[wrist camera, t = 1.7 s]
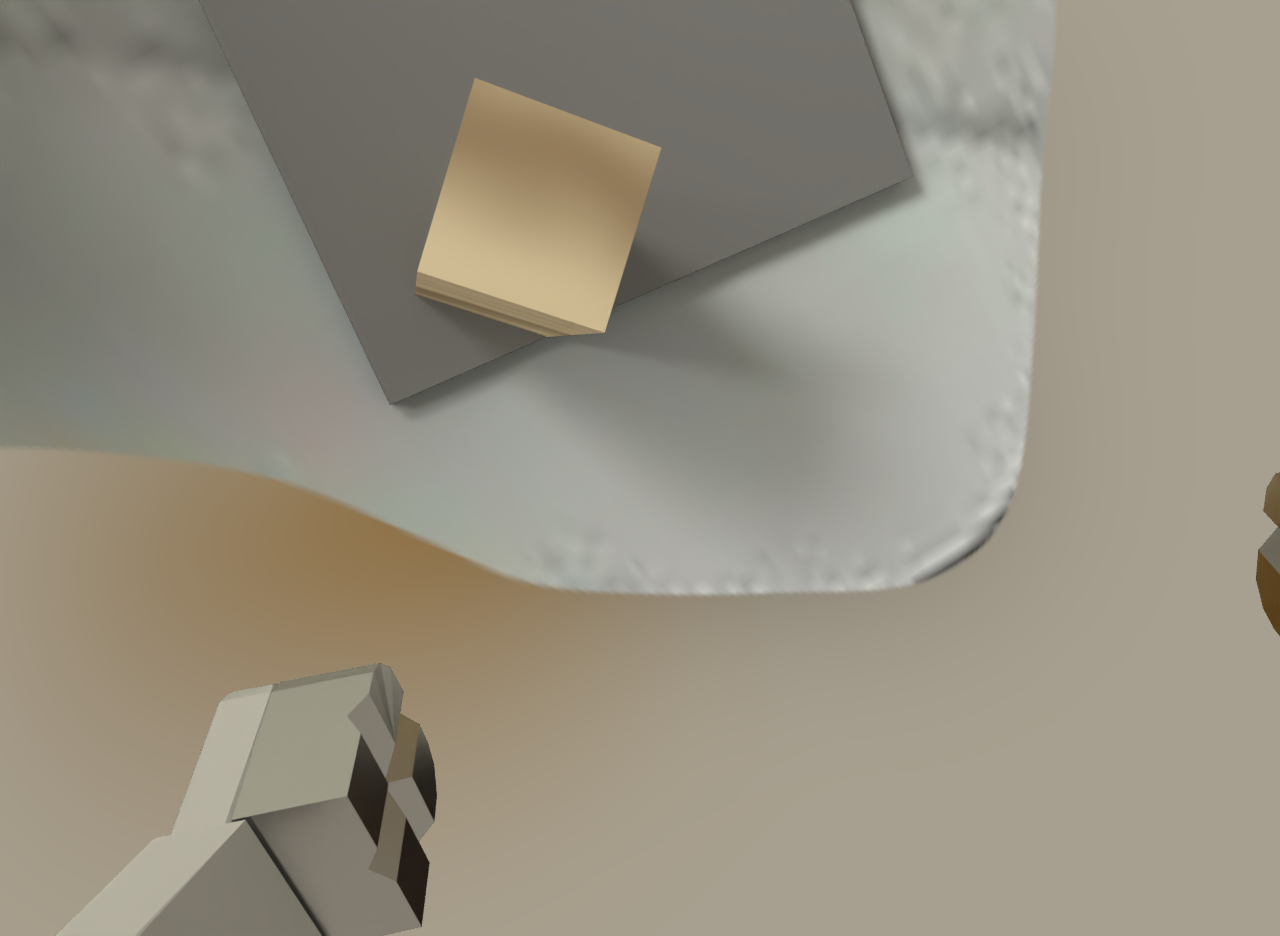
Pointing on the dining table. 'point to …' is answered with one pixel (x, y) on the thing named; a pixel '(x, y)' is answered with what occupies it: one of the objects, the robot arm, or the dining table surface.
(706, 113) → the rubber mat
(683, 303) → the dining table surface
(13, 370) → the dining table surface
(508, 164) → the maple block
